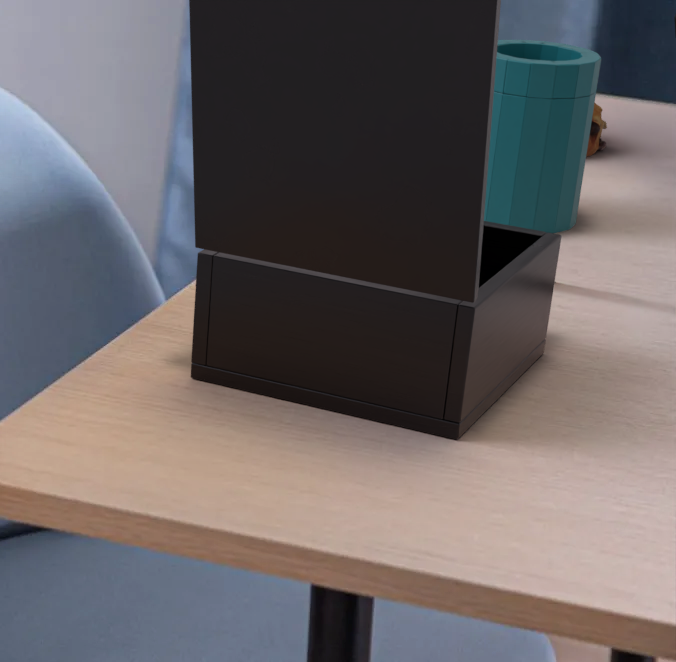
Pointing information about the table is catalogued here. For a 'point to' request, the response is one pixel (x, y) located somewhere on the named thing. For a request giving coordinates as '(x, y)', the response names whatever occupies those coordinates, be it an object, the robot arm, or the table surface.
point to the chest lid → (346, 136)
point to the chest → (377, 334)
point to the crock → (539, 133)
